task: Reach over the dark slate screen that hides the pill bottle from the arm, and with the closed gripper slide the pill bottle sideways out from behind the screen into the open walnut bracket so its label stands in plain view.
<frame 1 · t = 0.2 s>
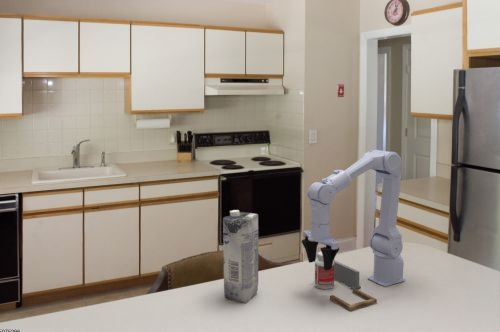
hand: (319, 265, 143), 10 cm above the table, fingers open, 7 cm apart
pill bottle: (324, 286, 153), on the table
walnut bracket: (351, 300, 141), on the table
slate screen: (342, 282, 155), on the table
juice carton: (241, 296, 145), on the table
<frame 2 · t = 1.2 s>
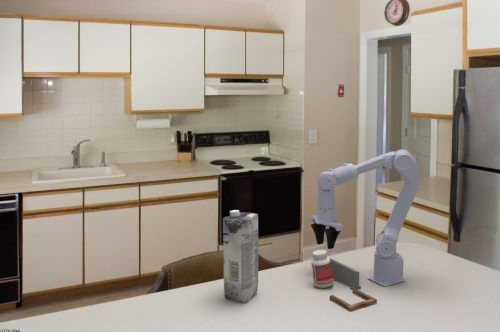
hand: (325, 246, 160), 10 cm above the table, fingers open, 5 cm apart
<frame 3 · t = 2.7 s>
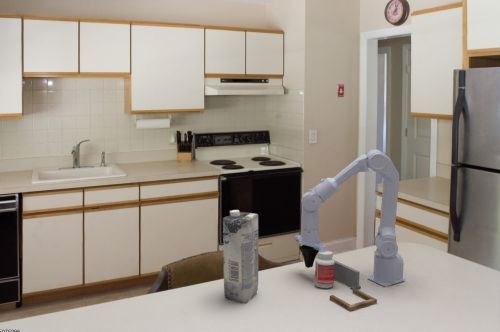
hand: (309, 266, 159), 4 cm above the table, fingers closed
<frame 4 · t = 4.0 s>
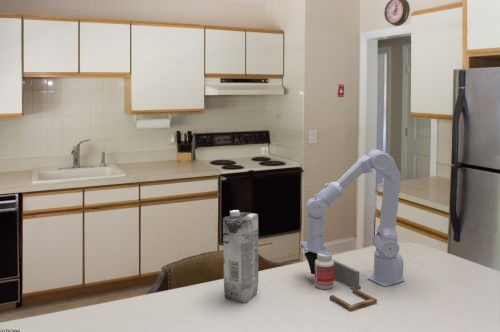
hand: (314, 273, 156), 2 cm above the table, fingers closed
pill bottle: (324, 286, 152), on the table, touching gripper
everything else where it was.
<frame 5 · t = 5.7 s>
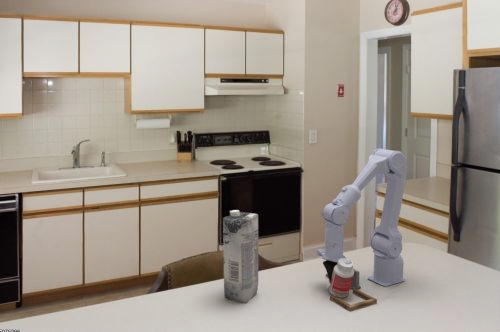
hand: (333, 283, 148), 2 cm above the table, fingers closed
pill bottle: (338, 292, 146), point 1 cm above the table, touching gripper
everything else where it was.
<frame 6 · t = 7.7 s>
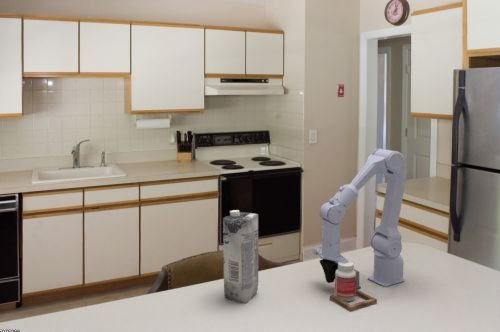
hand: (330, 281, 150), 2 cm above the table, fingers closed
pill bottle: (344, 298, 143), on the table
everything else where it was.
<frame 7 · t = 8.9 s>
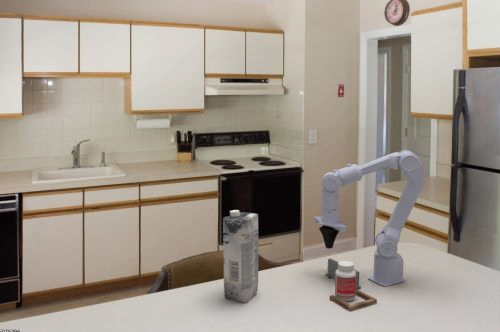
hand: (329, 247, 158), 10 cm above the table, fingers closed
nothing on the table moved.
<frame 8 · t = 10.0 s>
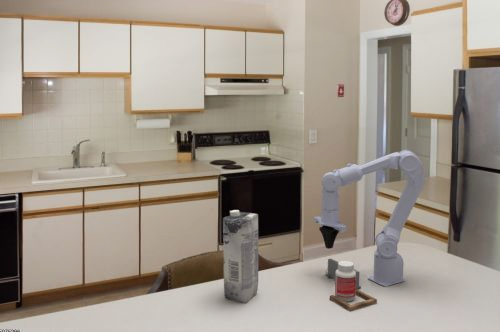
hand: (329, 247, 158), 10 cm above the table, fingers closed
nothing on the table moved.
at the end: pill bottle inside the target area (2.8 cm from its centre), on the table; pill bottle tilted 0°; pill bottle moved 10.5 cm from its start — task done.
